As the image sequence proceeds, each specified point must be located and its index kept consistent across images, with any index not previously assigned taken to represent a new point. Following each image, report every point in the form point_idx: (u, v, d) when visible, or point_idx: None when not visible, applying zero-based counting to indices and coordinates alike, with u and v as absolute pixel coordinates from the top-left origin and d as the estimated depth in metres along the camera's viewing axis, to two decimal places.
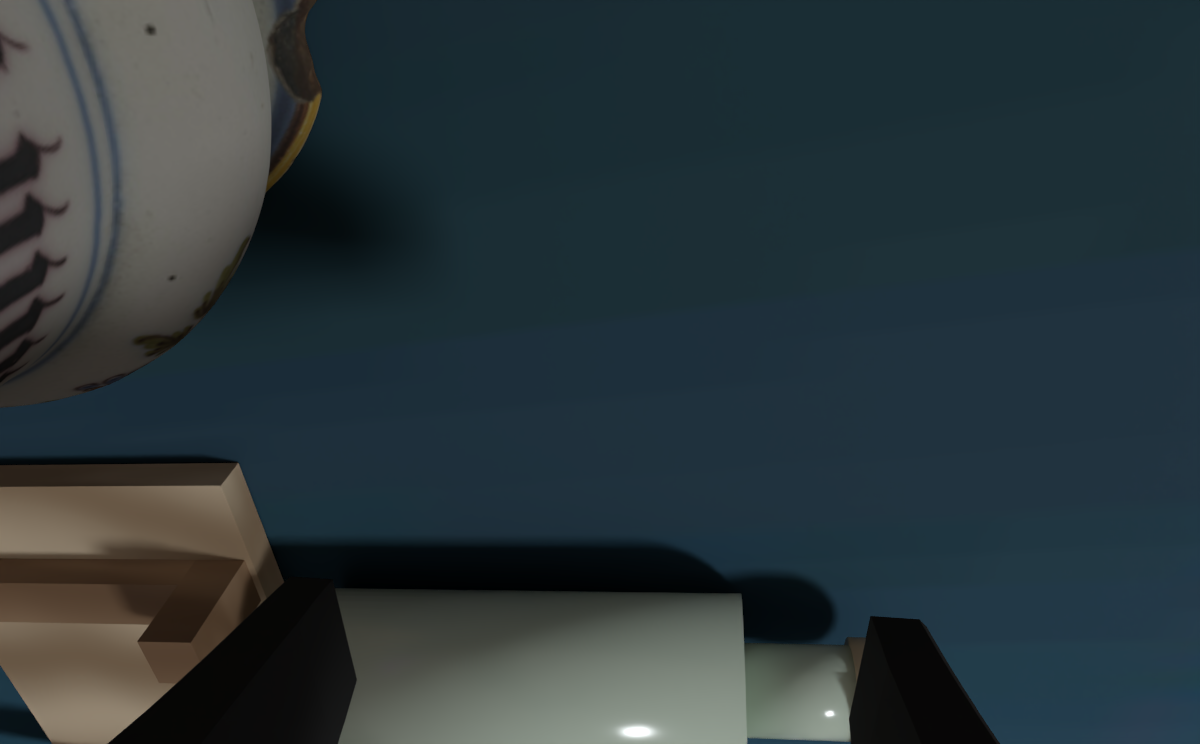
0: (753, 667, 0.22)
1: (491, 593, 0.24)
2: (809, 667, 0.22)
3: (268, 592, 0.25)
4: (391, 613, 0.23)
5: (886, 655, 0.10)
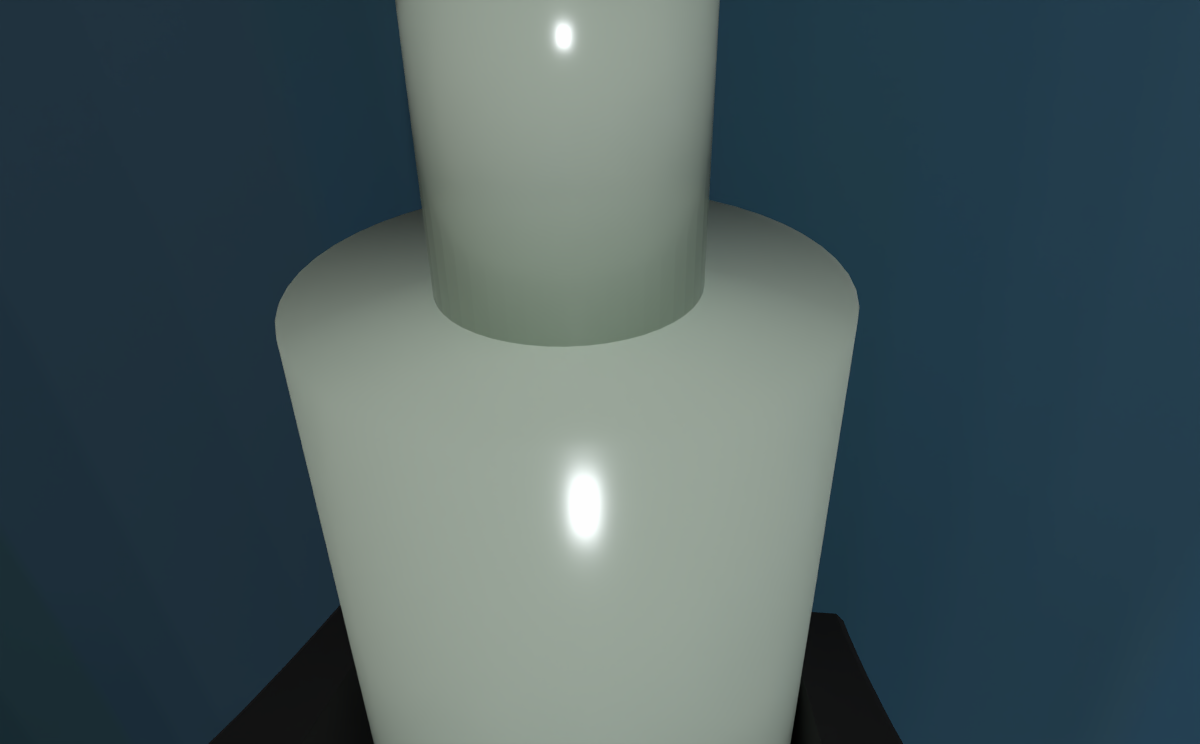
0: (430, 262, 0.07)
1: None
2: None
3: None
4: None
5: None
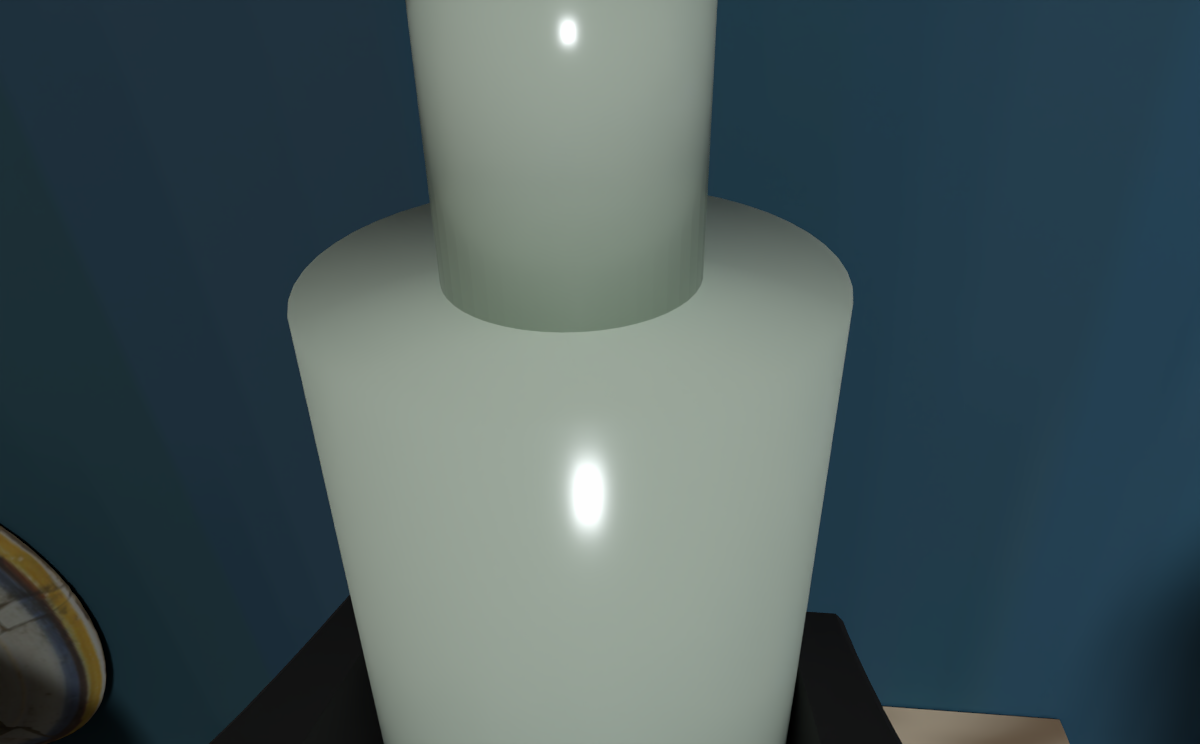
0: (437, 256, 0.08)
1: None
2: (417, 89, 0.07)
3: None
4: None
5: None
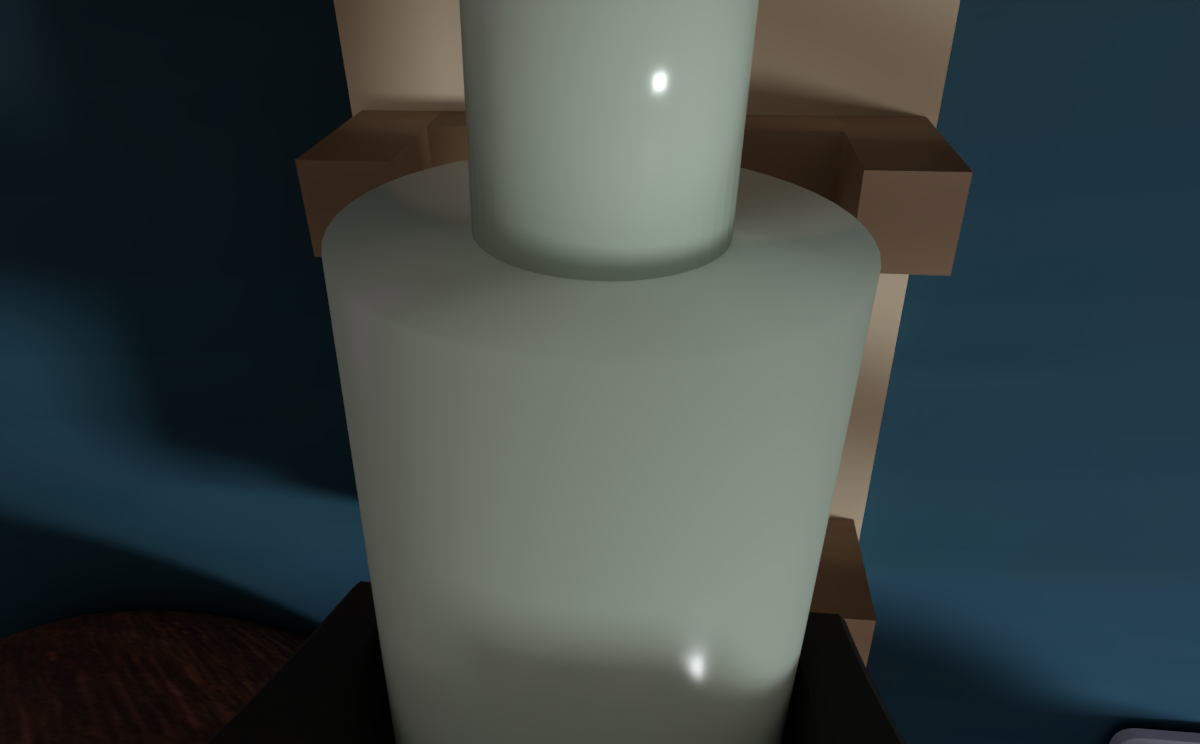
0: (471, 206, 0.08)
1: None
2: (461, 35, 0.07)
3: None
4: None
5: None
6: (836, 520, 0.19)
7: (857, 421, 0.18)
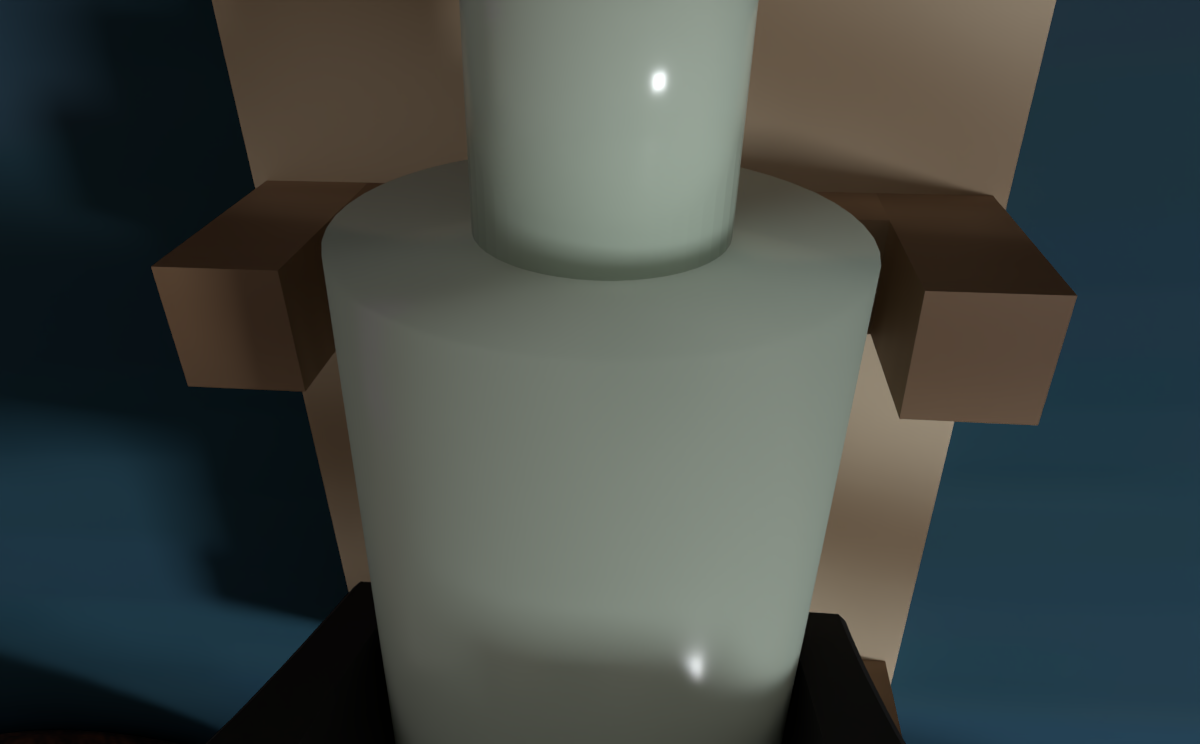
0: (470, 205, 0.08)
1: None
2: (461, 34, 0.07)
3: None
4: None
5: None
6: (864, 661, 0.16)
7: (892, 552, 0.15)
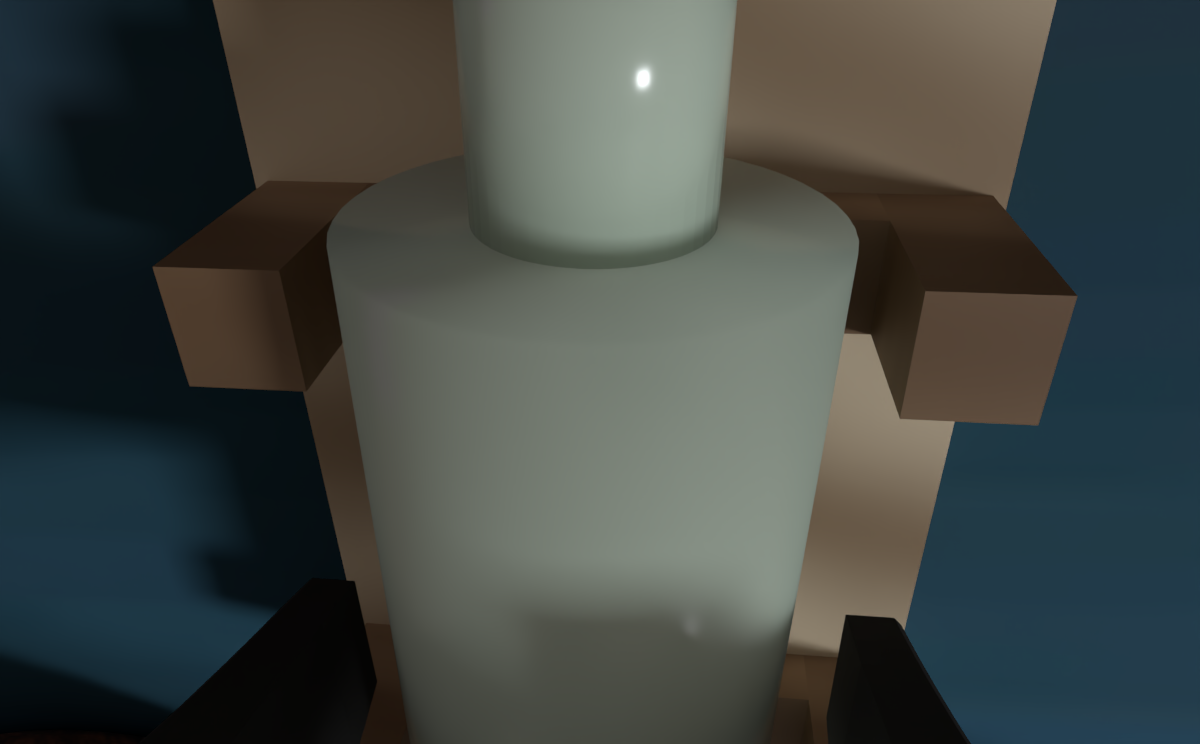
0: (467, 198, 0.08)
1: None
2: (455, 36, 0.07)
3: None
4: None
5: (859, 653, 0.10)
6: None
7: (892, 552, 0.15)
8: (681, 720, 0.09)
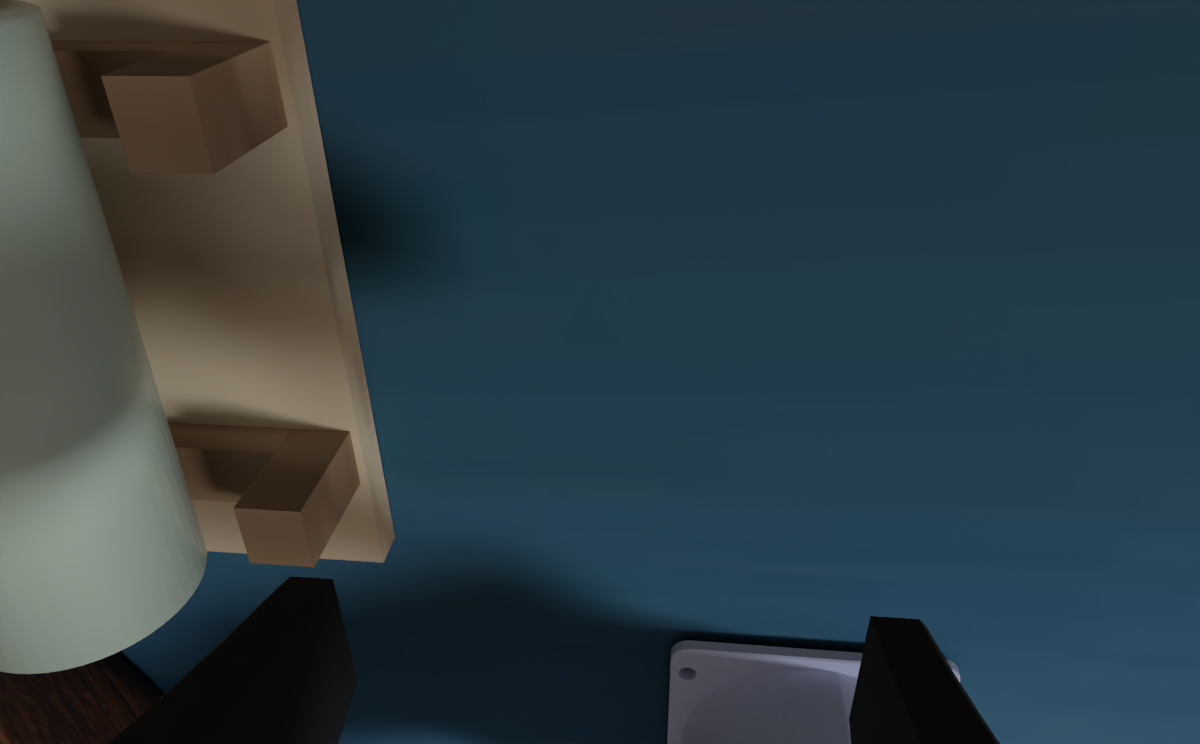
0: None
1: None
2: None
3: (300, 118, 0.17)
4: None
5: (886, 655, 0.10)
6: (335, 432, 0.21)
7: (317, 334, 0.19)
8: None
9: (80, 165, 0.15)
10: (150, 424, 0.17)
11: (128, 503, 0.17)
